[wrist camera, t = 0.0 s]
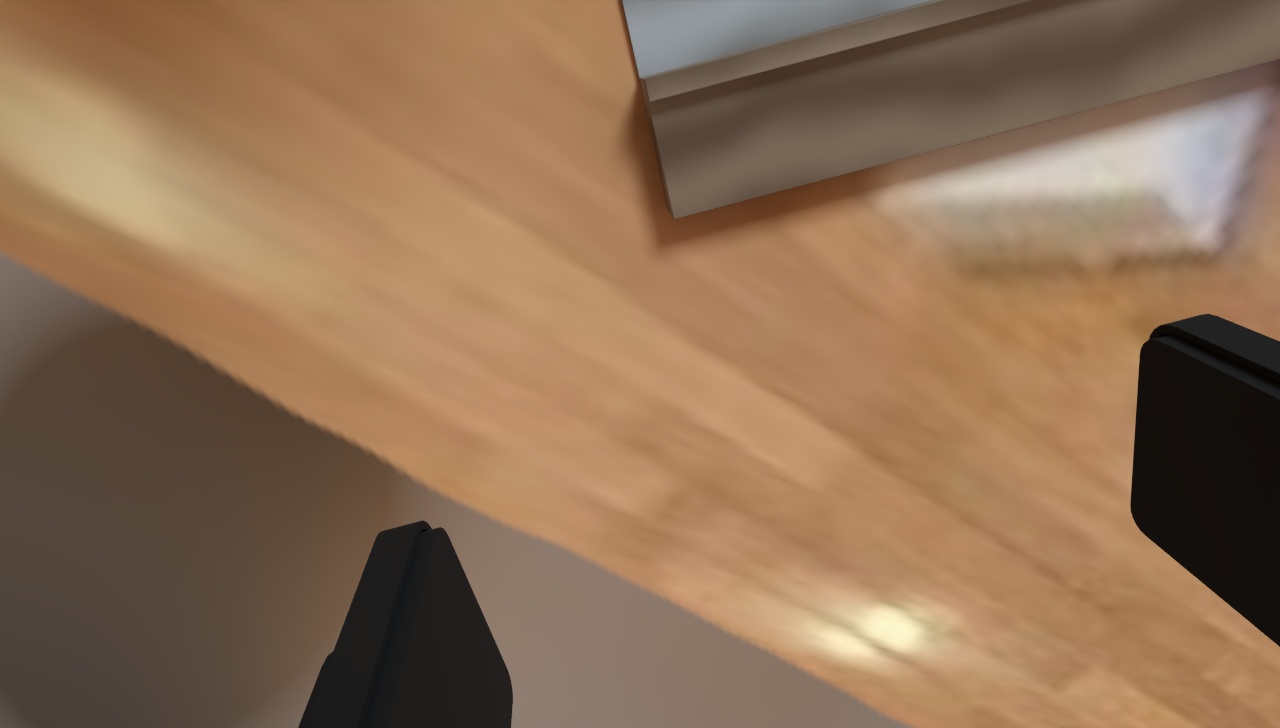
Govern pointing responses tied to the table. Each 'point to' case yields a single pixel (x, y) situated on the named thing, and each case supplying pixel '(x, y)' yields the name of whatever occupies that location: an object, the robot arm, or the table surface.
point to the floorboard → (901, 77)
